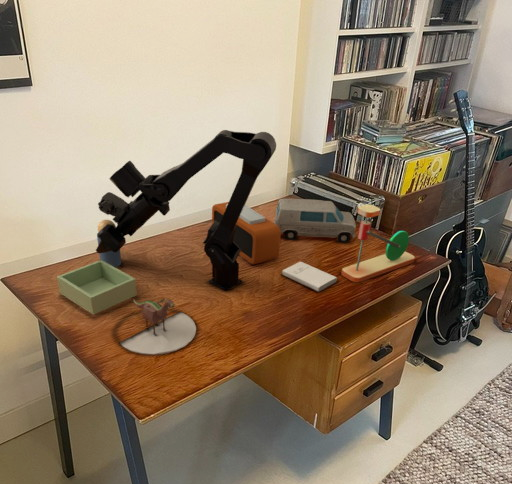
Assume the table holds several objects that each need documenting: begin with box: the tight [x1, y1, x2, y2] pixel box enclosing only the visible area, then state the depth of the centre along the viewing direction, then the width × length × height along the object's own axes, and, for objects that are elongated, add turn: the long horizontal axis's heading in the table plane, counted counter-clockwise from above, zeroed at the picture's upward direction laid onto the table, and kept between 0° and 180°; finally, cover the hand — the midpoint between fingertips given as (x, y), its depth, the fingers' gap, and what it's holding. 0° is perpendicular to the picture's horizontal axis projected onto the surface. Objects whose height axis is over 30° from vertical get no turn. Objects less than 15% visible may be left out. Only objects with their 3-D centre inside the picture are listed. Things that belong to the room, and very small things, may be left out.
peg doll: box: [96, 219, 122, 268], centre depth 138 cm, size 5×5×13 cm
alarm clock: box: [211, 201, 282, 265], centre depth 152 cm, size 24×8×11 cm, turn 34°
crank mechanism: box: [340, 203, 416, 283], centre depth 144 cm, size 25×7×19 cm, turn 126°
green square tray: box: [56, 259, 138, 315], centre depth 127 cm, size 14×13×6 cm
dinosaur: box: [118, 298, 197, 356], centre depth 115 cm, size 18×18×11 cm
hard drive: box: [281, 261, 338, 293], centre depth 142 cm, size 2×8×12 cm
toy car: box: [273, 198, 357, 244], centre depth 163 cm, size 11×25×10 cm, turn 90°
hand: (104, 245), depth 138 cm, fingers open, 8 cm apart
